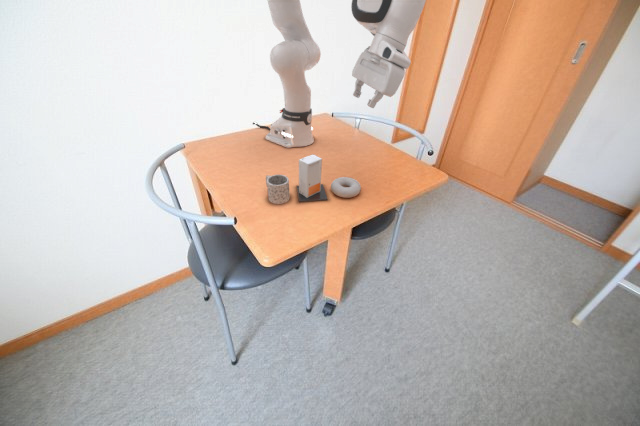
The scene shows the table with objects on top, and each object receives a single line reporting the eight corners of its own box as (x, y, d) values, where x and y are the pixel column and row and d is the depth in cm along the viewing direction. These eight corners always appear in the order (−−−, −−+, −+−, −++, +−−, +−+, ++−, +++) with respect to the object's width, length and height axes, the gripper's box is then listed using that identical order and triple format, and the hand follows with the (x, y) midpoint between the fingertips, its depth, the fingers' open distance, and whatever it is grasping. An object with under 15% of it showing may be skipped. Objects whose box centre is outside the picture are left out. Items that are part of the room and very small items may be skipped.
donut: (357, 183, 95) (328, 183, 94) (358, 175, 93) (329, 174, 92) (363, 199, 87) (332, 200, 86) (364, 190, 85) (333, 190, 84)
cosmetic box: (307, 198, 85) (307, 164, 78) (298, 193, 88) (297, 159, 81) (321, 191, 89) (322, 158, 82) (312, 186, 91) (313, 153, 84)
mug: (293, 198, 86) (293, 180, 82) (276, 206, 83) (274, 188, 79) (276, 185, 92) (274, 168, 88) (259, 192, 88) (256, 174, 84)
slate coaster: (322, 185, 93) (322, 184, 93) (327, 200, 86) (327, 198, 86) (296, 187, 92) (296, 185, 91) (299, 202, 85) (299, 200, 84)
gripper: (359, 40, 80) (340, 88, 87) (397, 54, 65) (370, 110, 72) (375, 49, 83) (355, 94, 90) (415, 64, 69) (388, 116, 75)
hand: (362, 101), depth 81 cm, fingers open, 8 cm apart
